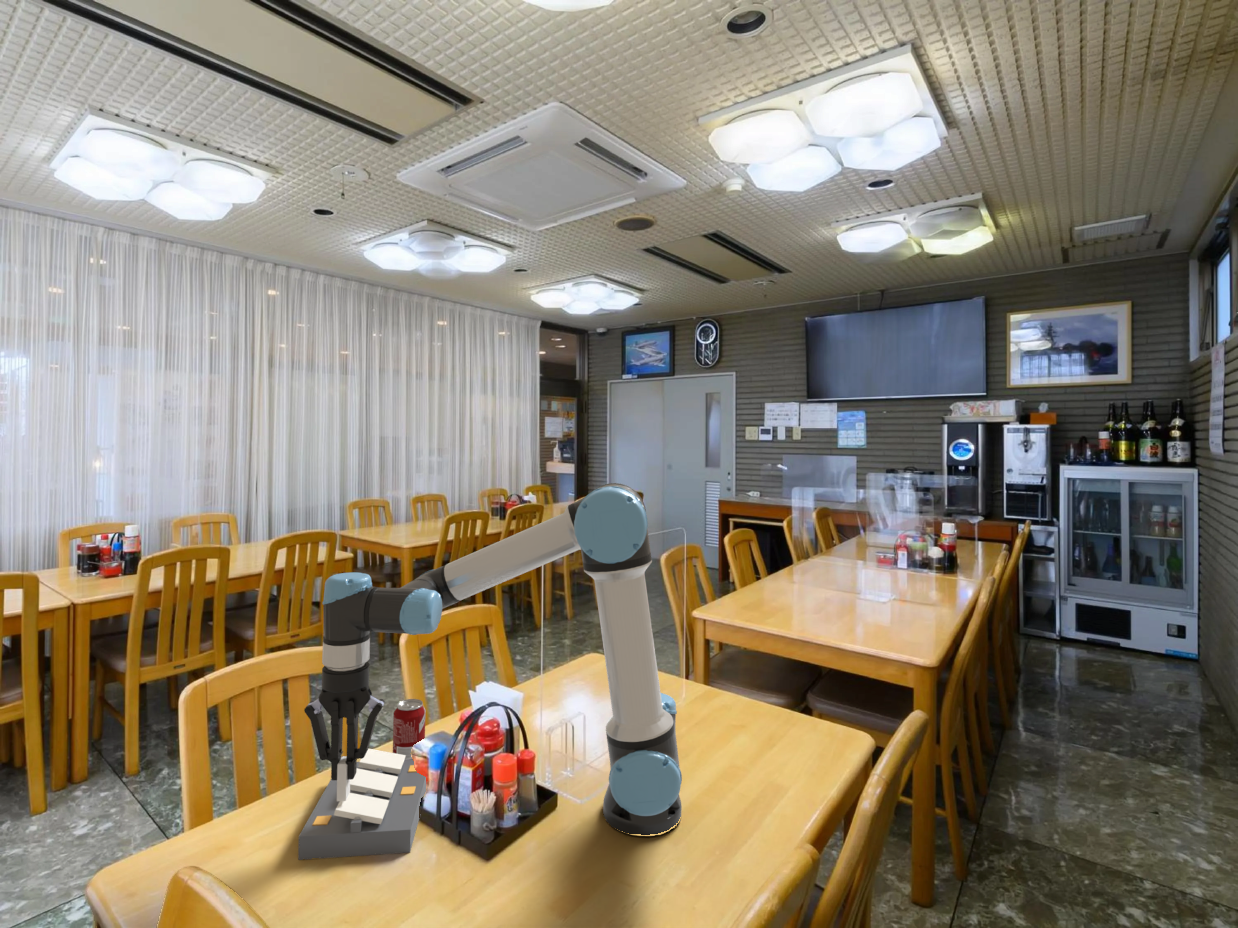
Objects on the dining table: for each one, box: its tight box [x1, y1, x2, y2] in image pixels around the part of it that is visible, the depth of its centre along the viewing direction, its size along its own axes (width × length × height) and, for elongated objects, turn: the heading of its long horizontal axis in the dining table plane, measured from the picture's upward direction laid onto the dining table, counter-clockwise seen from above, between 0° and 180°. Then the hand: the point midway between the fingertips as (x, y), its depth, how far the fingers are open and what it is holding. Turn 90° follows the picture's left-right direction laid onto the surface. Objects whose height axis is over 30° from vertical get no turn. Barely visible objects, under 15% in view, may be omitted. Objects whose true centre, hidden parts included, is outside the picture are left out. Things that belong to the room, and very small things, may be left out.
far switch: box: [358, 748, 406, 774], centre depth 124 cm, size 8×6×2 cm
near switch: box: [334, 793, 389, 824], centre depth 109 cm, size 8×6×2 cm
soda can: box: [392, 698, 427, 760], centre depth 138 cm, size 7×7×12 cm
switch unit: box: [297, 759, 427, 861], centre depth 117 cm, size 18×24×6 cm
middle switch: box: [350, 768, 398, 798], centre depth 117 cm, size 8×6×2 cm
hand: (343, 796), depth 108 cm, fingers closed
